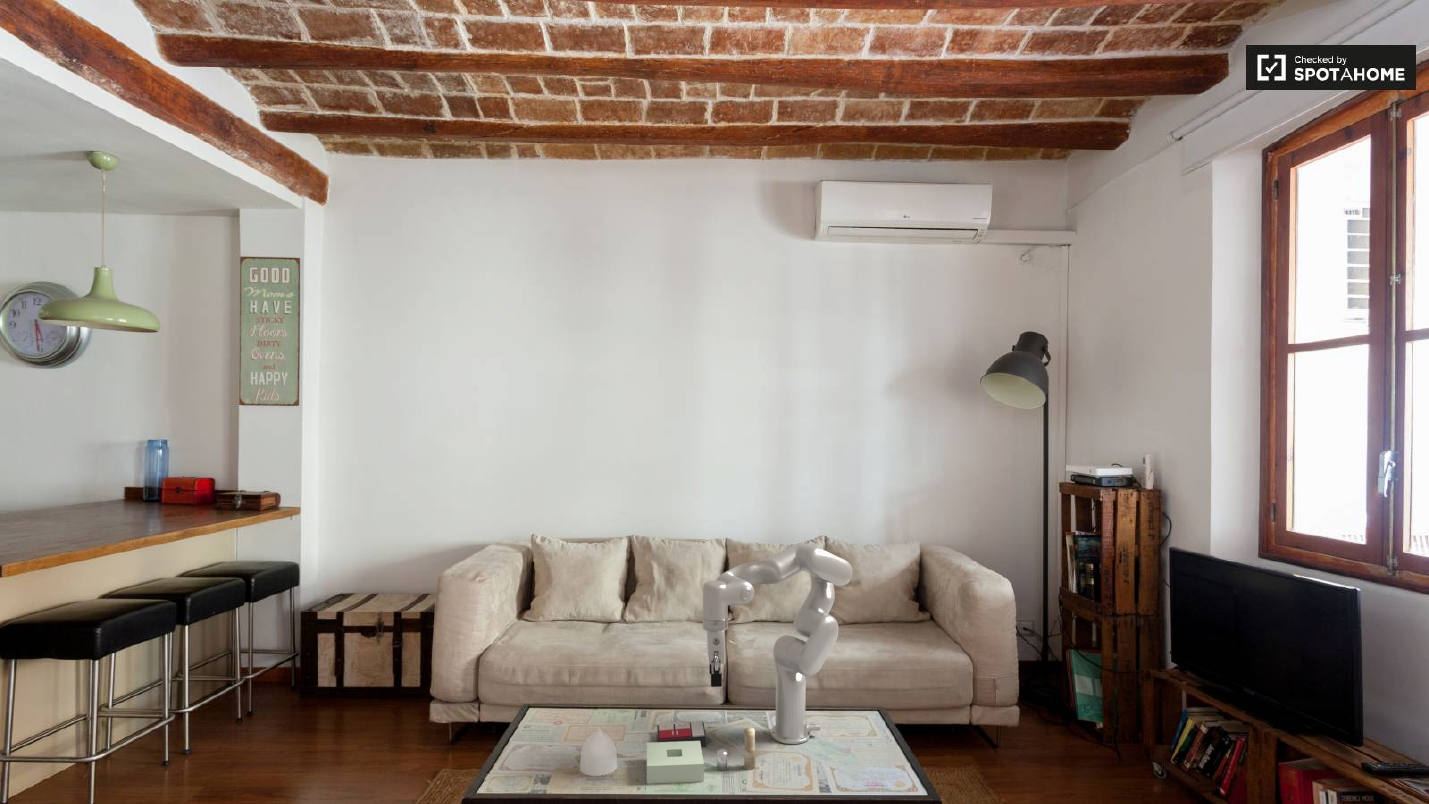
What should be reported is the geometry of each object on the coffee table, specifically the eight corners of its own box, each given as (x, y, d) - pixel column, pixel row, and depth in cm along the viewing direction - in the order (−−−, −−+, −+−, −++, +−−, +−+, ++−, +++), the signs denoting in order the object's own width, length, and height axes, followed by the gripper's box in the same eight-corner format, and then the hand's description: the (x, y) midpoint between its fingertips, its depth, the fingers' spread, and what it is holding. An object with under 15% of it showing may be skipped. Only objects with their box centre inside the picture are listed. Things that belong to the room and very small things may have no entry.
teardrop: (576, 761, 217) (576, 720, 217) (613, 755, 221) (613, 715, 221) (583, 779, 207) (583, 736, 207) (621, 772, 211) (621, 731, 211)
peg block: (699, 757, 220) (700, 740, 220) (703, 781, 206) (703, 763, 206) (646, 759, 218) (646, 742, 218) (646, 784, 204) (646, 766, 204)
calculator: (657, 722, 236) (703, 718, 237) (657, 735, 236) (703, 732, 237) (657, 738, 225) (706, 734, 226) (658, 752, 225) (706, 748, 226)
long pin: (753, 764, 216) (754, 727, 216) (755, 769, 213) (755, 732, 213) (743, 765, 216) (743, 727, 216) (745, 770, 213) (745, 732, 213)
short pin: (726, 765, 215) (726, 748, 215) (727, 770, 212) (728, 753, 212) (716, 766, 215) (716, 749, 215) (717, 771, 212) (717, 754, 212)
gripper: (729, 632, 211) (730, 691, 211) (725, 614, 228) (726, 669, 228) (703, 632, 211) (704, 692, 211) (701, 614, 228) (702, 669, 228)
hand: (715, 679), depth 220 cm, fingers open, 9 cm apart
